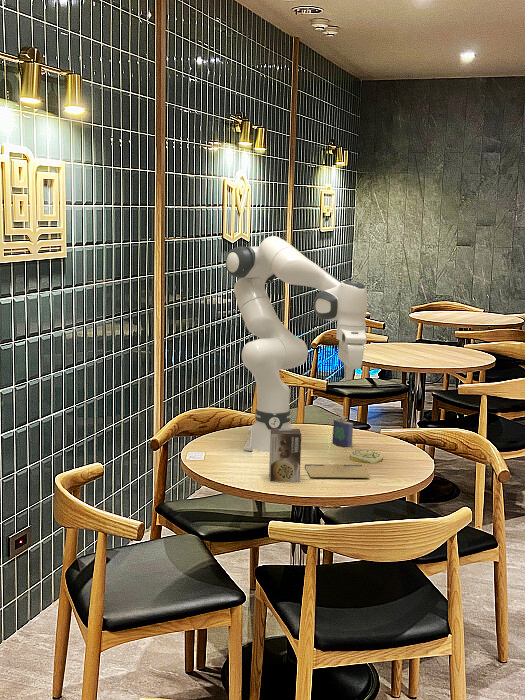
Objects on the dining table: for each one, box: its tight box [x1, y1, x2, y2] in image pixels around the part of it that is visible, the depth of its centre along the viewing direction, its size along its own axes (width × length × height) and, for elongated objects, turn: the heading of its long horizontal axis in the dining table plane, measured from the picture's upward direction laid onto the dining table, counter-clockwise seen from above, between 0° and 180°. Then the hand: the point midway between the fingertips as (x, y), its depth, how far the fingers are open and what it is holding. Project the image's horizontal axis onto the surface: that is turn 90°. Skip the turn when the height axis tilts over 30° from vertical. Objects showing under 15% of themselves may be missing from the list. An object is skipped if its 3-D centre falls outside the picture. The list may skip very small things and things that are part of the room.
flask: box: [331, 415, 354, 448], centre depth 296 cm, size 9×3×11 cm, turn 37°
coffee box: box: [268, 428, 302, 483], centre depth 248 cm, size 9×6×16 cm
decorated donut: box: [349, 449, 384, 464], centre depth 275 cm, size 10×11×4 cm
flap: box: [305, 464, 371, 479], centre depth 257 cm, size 13×18×2 cm
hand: (348, 378), depth 257 cm, fingers closed
